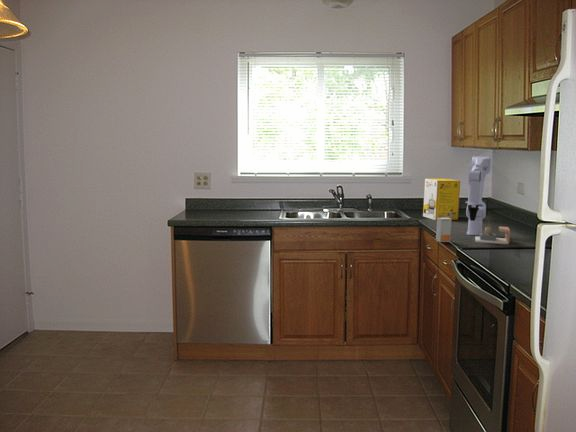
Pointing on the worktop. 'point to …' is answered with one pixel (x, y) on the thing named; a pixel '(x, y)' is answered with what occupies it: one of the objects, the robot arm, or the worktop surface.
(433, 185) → the packaging box
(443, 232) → the skincare box
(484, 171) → the robot arm
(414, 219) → the worktop surface
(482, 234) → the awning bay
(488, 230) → the peg
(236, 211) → the worktop surface
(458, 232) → the worktop surface
